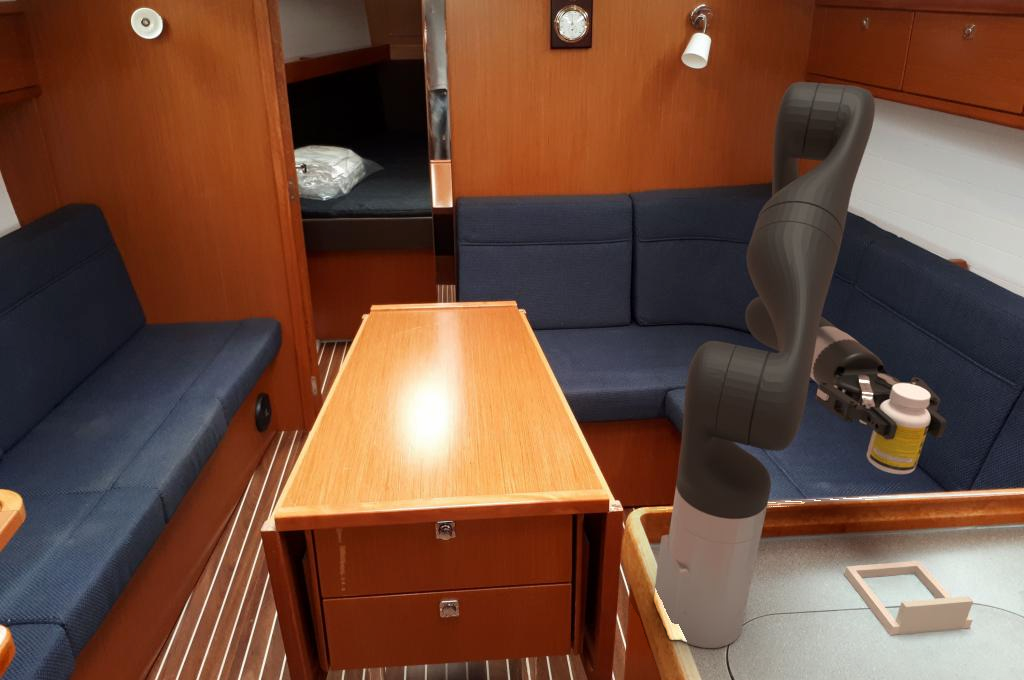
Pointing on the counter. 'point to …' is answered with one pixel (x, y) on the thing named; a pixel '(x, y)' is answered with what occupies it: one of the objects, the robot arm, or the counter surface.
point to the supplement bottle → (902, 430)
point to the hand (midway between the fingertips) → (917, 431)
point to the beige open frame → (912, 613)
